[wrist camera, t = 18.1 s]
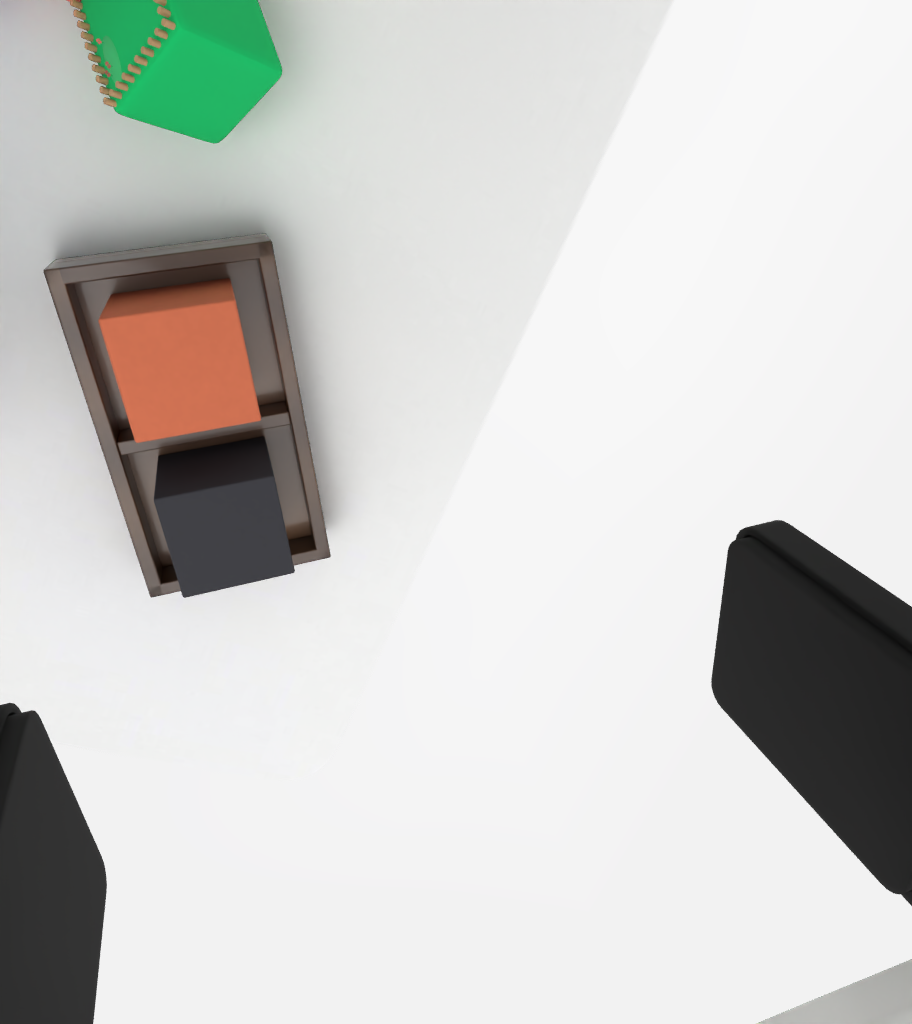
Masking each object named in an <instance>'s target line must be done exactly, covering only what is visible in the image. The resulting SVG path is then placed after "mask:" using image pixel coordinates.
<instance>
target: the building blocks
mask: <svg viewBox="0 0 912 1024" xmlns="http://www.w3.org/2000/svg"><path fill="white" fill-rule="evenodd" d="M67 1H69V2H70V5H71V6H73V7H76V8H78V9H80V11H81V12H80V11H78V10H74V16H75V17H78V18H80V19H83V20H84V22H82V21H80V20H79V21H78V22H77V26H78V27H79V28H82V29H84V30H87V32H88V33H86V32H83V31H82V32H81V38H83V39H86V40H88V41H91V44H90V43H87V42H86V43H85V49H87V50H90V51H93V52H94V53H95V55H94V54H91V53H89V55H88V58H89V60H91V61H94V62H97V63H98V64H99V66H98V65H95V64H93V65H92V70H93V71H95V72H98V73H101V74H102V76H103V77H102V76H99V75H97V76H96V81H97V82H99V83H102V84H105V85H106V88H105V87H102V86H101V87H100V93H103V94H106V95H109V97H110V99H109V98H106V97H105V98H104V99H103V102H104V104H106V105H109V106H112V107H114V109H115V111H116V112H117V113H119V114H121V115H123V116H126V117H129V118H132V119H135V120H139V121H142V122H145V123H148V124H152V125H155V126H158V127H161V128H164V129H168V130H171V131H174V132H177V133H181V134H184V135H187V136H190V137H194V138H197V139H200V140H203V141H206V142H210V143H219V142H220V141H221V140H223V139H224V138H225V137H226V136H227V135H228V134H229V133H230V132H231V131H232V129H233V128H234V127H235V126H236V125H237V124H238V123H239V122H240V121H241V120H242V119H243V118H244V117H245V115H246V114H247V113H248V112H249V111H250V110H251V109H252V108H253V107H254V106H255V105H256V104H257V102H258V101H259V100H260V99H261V98H262V97H263V96H264V95H265V94H266V93H267V92H268V91H269V90H270V88H271V87H272V86H273V85H274V84H275V83H276V82H277V81H278V80H279V78H280V77H281V75H282V67H281V64H280V61H279V58H278V55H277V52H276V50H275V47H274V44H273V41H272V39H271V36H270V33H269V30H268V28H267V25H266V22H265V19H264V17H263V14H262V11H261V8H260V6H259V3H258V0H67Z"/></svg>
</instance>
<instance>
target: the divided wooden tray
mask: <svg viewBox="0 0 912 1024" xmlns="http://www.w3.org/2000/svg"><path fill="white" fill-rule="evenodd" d="M44 275H45V278H46V281H47V284H48V287H49V290H50V293H51V296H52V299H53V302H54V305H55V308H56V311H57V314H58V317H59V320H60V323H61V326H62V329H63V332H64V335H65V338H66V341H67V344H68V348H69V351H70V354H71V357H72V360H73V363H74V366H75V369H76V372H77V375H78V378H79V381H80V384H81V387H82V390H83V393H84V396H85V399H86V402H87V405H88V408H89V411H90V414H91V417H92V420H93V424H94V427H95V430H96V433H97V436H98V439H99V442H100V445H101V448H102V451H103V454H104V457H105V460H106V463H107V466H108V469H109V472H110V475H111V478H112V481H113V484H114V487H115V490H116V493H117V496H118V500H119V503H120V506H121V509H122V512H123V515H124V518H125V521H126V524H127V527H128V530H129V533H130V536H131V539H132V542H133V545H134V548H135V551H136V554H137V557H138V560H139V563H140V566H141V569H142V572H143V576H144V579H145V582H146V585H147V588H148V591H149V594H150V596H151V597H156V596H160V595H165V594H169V593H174V592H178V591H181V589H180V586H179V582H178V579H177V576H176V572H175V569H174V566H173V563H172V559H171V556H170V553H169V549H168V546H167V543H166V540H165V536H164V533H163V530H162V526H161V523H160V520H159V517H158V513H157V510H156V507H155V504H154V492H155V482H156V472H157V463H158V456H160V455H166V454H171V453H176V452H182V451H187V450H193V449H198V448H203V447H209V446H214V445H220V444H225V443H230V442H236V441H241V440H247V439H252V438H257V437H265V439H266V443H267V448H268V452H269V456H270V460H271V464H272V469H273V473H274V477H275V482H276V486H277V491H278V496H279V500H280V505H281V510H282V514H283V519H284V523H285V528H286V533H287V537H288V542H289V547H290V551H291V556H292V561H293V565H298V564H302V563H307V562H311V561H316V560H320V559H325V558H329V557H330V556H331V555H330V550H329V545H328V539H327V534H326V529H325V523H324V518H323V513H322V507H321V502H320V497H319V491H318V486H317V481H316V475H315V470H314V465H313V459H312V454H311V449H310V443H309V438H308V433H307V427H306V422H305V416H304V411H303V406H302V400H301V395H300V390H299V384H298V379H297V374H296V368H295V363H294V358H293V352H292V347H291V342H290V336H289V331H288V326H287V320H286V315H285V310H284V304H283V299H282V294H281V288H280V283H279V278H278V272H277V267H276V262H275V256H274V251H273V246H272V242H271V240H270V239H269V238H268V236H267V235H266V234H256V235H248V236H240V237H232V238H224V239H216V240H208V241H200V242H192V243H184V244H176V245H168V246H160V247H152V248H144V249H136V250H128V251H120V252H112V253H104V254H96V255H88V256H80V257H72V258H64V259H56V260H54V261H53V262H52V263H51V264H50V265H49V266H48V267H47V268H45V269H44ZM226 278H228V279H230V280H231V284H232V288H233V292H234V296H235V300H236V304H237V309H238V314H239V318H240V323H241V327H242V332H243V337H244V341H245V346H246V351H247V355H248V360H249V364H250V369H251V374H252V378H253V383H254V388H255V392H256V397H257V401H258V406H259V411H260V415H261V420H260V421H257V422H251V423H246V424H240V425H235V426H229V427H223V428H218V429H212V430H207V431H201V432H196V433H190V434H185V435H179V436H174V437H168V438H162V439H157V440H151V441H146V442H140V443H136V442H135V440H134V437H133V433H132V430H131V427H130V424H129V420H128V417H127V414H126V410H125V407H124V404H123V401H122V397H121V394H120V391H119V387H118V384H117V381H116V378H115V374H114V371H113V368H112V364H111V361H110V358H109V355H108V351H107V348H106V345H105V342H104V338H103V335H102V332H101V328H100V325H99V322H98V320H99V318H100V316H101V313H102V311H103V309H104V307H105V305H106V303H107V301H108V299H109V297H110V295H112V294H117V293H124V292H131V291H139V290H146V289H153V288H161V287H168V286H175V285H183V284H190V283H197V282H204V281H212V280H219V279H226Z"/></svg>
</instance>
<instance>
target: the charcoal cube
mask: <svg viewBox="0 0 912 1024" xmlns="http://www.w3.org/2000/svg"><path fill="white" fill-rule="evenodd" d="M154 504H155V507H156V510H157V513H158V517H159V520H160V523H161V526H162V530H163V533H164V536H165V540H166V543H167V546H168V549H169V553H170V556H171V559H172V563H173V566H174V569H175V572H176V576H177V579H178V582H179V586H180V589H181V592H182V595H183V597H184V598H185V597H190V596H194V595H199V594H203V593H207V592H212V591H216V590H221V589H225V588H229V587H234V586H238V585H243V584H247V583H251V582H256V581H260V580H265V579H269V578H273V577H278V576H282V575H287V574H291V573H294V571H295V570H294V565H293V561H292V556H291V551H290V547H289V542H288V537H287V533H286V528H285V523H284V519H283V514H282V510H281V505H280V500H279V496H278V491H277V486H276V482H275V477H274V473H273V469H272V464H271V460H270V456H269V452H268V448H267V443H266V439H265V437H257V438H252V439H247V440H241V441H236V442H230V443H225V444H220V445H214V446H209V447H203V448H198V449H193V450H187V451H182V452H176V453H171V454H166V455H160V456H158V463H157V472H156V482H155V492H154Z"/></svg>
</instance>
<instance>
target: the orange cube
mask: <svg viewBox="0 0 912 1024" xmlns="http://www.w3.org/2000/svg"><path fill="white" fill-rule="evenodd" d="M98 322H99V325H100V328H101V332H102V335H103V338H104V342H105V345H106V348H107V351H108V355H109V358H110V361H111V364H112V368H113V371H114V374H115V378H116V381H117V384H118V387H119V391H120V394H121V397H122V401H123V404H124V407H125V410H126V414H127V417H128V420H129V424H130V427H131V430H132V433H133V437H134V440H135V442H136V443H140V442H146V441H151V440H157V439H162V438H168V437H174V436H179V435H185V434H190V433H196V432H201V431H207V430H212V429H218V428H223V427H229V426H235V425H240V424H246V423H251V422H257V421H260V420H261V415H260V411H259V406H258V401H257V397H256V392H255V388H254V383H253V378H252V374H251V369H250V364H249V360H248V355H247V351H246V346H245V341H244V337H243V332H242V327H241V323H240V318H239V314H238V309H237V304H236V300H235V296H234V292H233V288H232V284H231V280H230V279H228V278H226V279H219V280H212V281H204V282H197V283H190V284H183V285H175V286H168V287H161V288H153V289H146V290H139V291H131V292H124V293H117V294H112V295H110V297H109V299H108V301H107V303H106V305H105V307H104V309H103V311H102V313H101V316H100V318H99V320H98Z"/></svg>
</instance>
